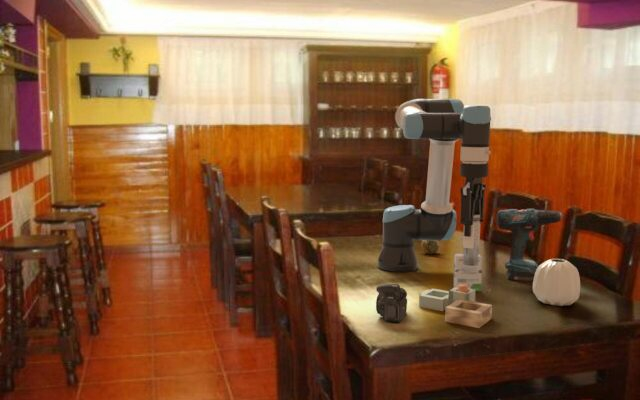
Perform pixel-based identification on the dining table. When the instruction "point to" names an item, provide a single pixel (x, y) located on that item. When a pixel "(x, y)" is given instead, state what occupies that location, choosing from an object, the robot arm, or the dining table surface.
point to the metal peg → (469, 253)
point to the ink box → (467, 273)
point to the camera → (391, 302)
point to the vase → (557, 282)
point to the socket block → (443, 298)
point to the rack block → (468, 313)
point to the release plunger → (463, 288)
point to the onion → (430, 246)
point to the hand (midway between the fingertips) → (471, 246)
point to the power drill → (523, 237)
